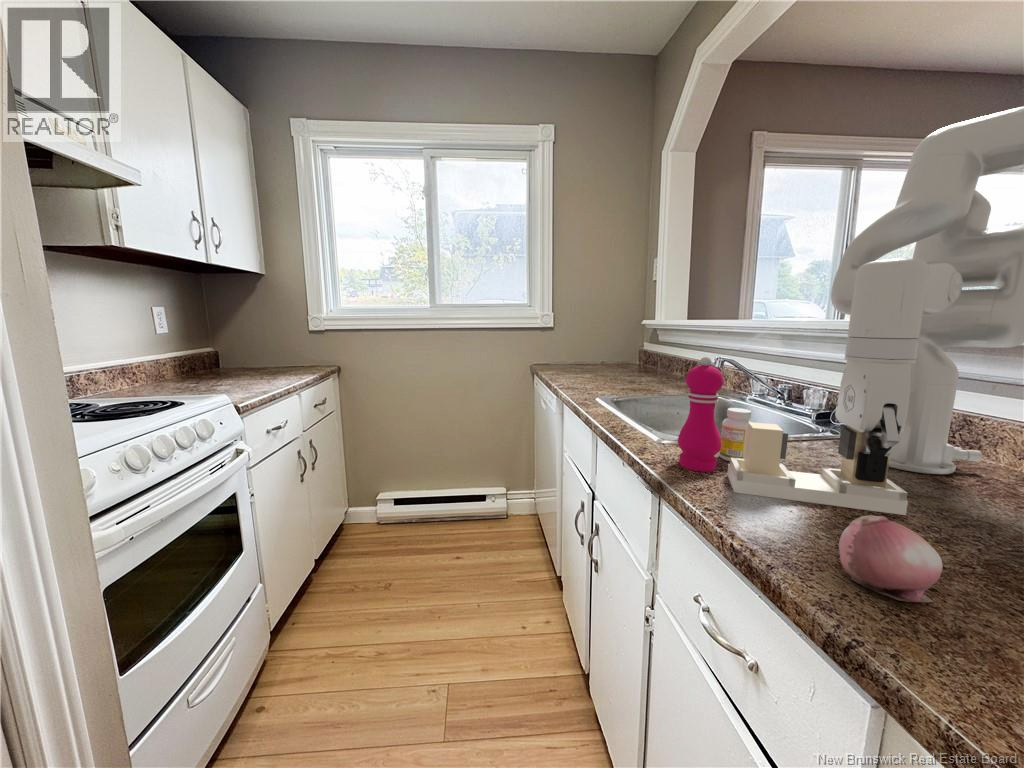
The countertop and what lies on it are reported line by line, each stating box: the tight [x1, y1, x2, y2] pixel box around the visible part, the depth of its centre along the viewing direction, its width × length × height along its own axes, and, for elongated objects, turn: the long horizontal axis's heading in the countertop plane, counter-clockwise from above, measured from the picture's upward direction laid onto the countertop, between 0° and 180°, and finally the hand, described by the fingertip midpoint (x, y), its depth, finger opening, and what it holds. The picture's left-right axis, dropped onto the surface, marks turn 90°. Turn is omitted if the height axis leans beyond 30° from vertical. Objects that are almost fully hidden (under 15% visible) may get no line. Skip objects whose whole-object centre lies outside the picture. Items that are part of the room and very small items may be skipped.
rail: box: [727, 421, 909, 516], centre depth 63 cm, size 21×8×10 cm, turn 70°
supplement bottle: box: [718, 407, 752, 462], centre depth 79 cm, size 5×5×10 cm
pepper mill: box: [677, 356, 724, 473], centre depth 74 cm, size 7×7×20 cm
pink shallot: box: [838, 514, 944, 604], centre depth 41 cm, size 8×8×7 cm
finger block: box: [837, 426, 892, 488], centre depth 60 cm, size 5×4×8 cm
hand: (862, 473), depth 61 cm, fingers closed on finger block, 4 cm apart
